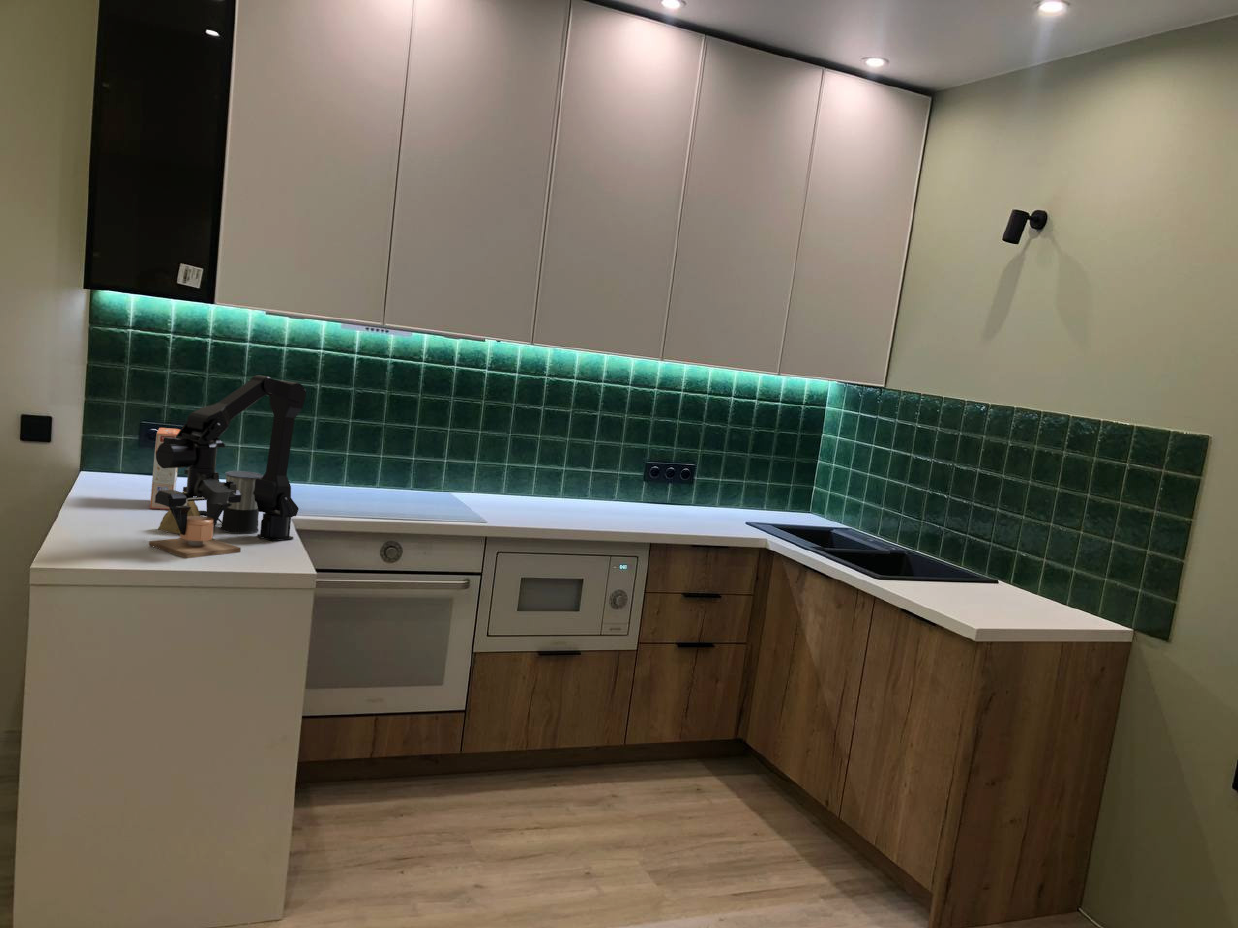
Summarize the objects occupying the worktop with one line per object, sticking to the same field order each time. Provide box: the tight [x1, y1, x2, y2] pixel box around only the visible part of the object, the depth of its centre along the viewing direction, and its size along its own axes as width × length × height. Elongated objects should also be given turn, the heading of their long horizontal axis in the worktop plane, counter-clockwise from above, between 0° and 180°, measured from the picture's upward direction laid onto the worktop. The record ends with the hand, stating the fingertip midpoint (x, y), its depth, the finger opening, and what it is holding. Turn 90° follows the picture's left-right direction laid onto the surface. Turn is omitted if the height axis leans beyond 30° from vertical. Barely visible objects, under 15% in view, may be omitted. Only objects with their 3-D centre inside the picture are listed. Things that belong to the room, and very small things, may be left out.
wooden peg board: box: [148, 537, 241, 559], centre depth 229 cm, size 14×14×4 cm
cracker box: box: [149, 427, 181, 511], centre depth 273 cm, size 14×6×21 cm, turn 22°
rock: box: [157, 491, 200, 535], centre depth 243 cm, size 11×9×10 cm
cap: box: [179, 516, 215, 541], centre depth 229 cm, size 7×7×4 cm
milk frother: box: [199, 470, 264, 535], centre depth 253 cm, size 14×16×15 cm
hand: (196, 533), depth 229 cm, fingers closed on cap, 7 cm apart
